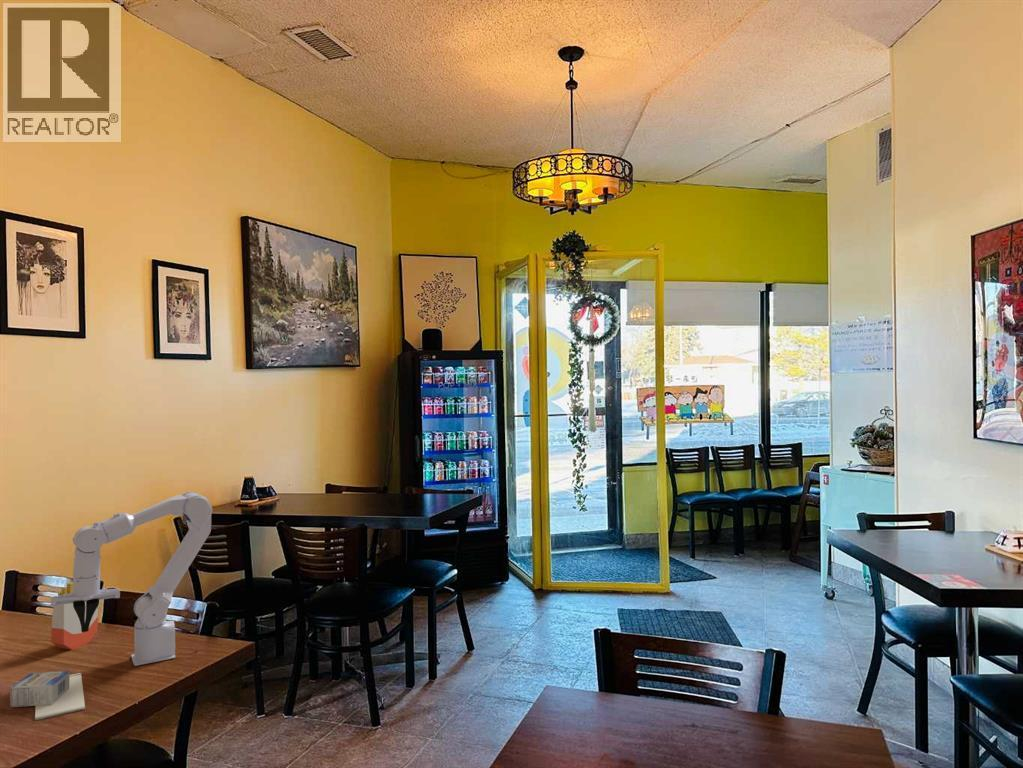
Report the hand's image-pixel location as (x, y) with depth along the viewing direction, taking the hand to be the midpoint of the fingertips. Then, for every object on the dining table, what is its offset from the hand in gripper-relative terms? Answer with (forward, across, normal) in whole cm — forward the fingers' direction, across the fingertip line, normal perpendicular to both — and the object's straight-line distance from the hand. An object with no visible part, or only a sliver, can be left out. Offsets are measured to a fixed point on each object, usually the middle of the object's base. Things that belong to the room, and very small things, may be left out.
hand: (84, 630), depth 168 cm
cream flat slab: (+11, -5, -12) cm, 17 cm away
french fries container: (+11, -1, +23) cm, 25 cm away
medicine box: (+8, -4, -14) cm, 16 cm away
